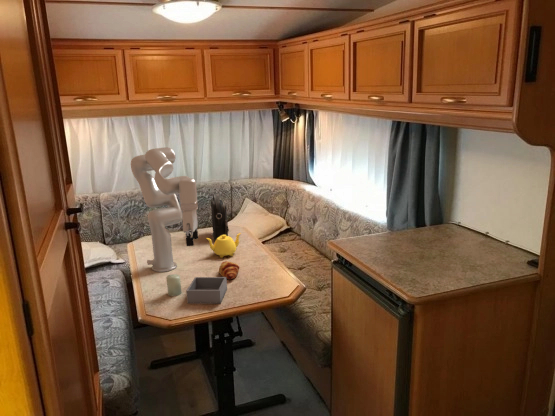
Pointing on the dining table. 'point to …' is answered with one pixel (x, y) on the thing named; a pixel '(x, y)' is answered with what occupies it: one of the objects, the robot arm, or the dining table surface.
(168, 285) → the pale green rounded block
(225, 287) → the bin
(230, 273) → the croissant
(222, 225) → the shoulder bag
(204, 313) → the dining table surface
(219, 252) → the teapot
